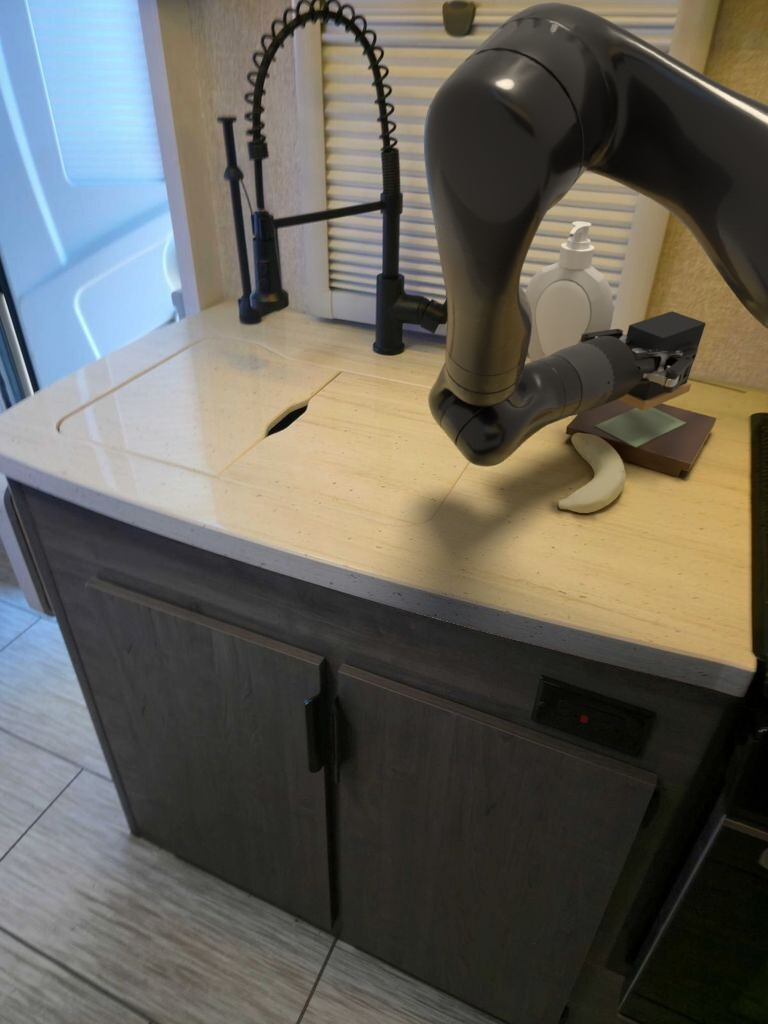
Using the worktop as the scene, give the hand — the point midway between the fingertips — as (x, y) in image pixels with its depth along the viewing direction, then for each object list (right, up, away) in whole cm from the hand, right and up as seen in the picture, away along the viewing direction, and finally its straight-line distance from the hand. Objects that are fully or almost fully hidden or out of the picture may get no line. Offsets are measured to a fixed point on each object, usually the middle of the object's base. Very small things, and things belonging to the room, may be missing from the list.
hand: (673, 344), depth 83 cm
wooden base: (-2, -11, +7) cm, 13 cm away
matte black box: (-2, -6, +2) cm, 7 cm away
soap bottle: (-11, -4, +17) cm, 21 cm away
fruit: (-11, -17, -1) cm, 21 cm away
